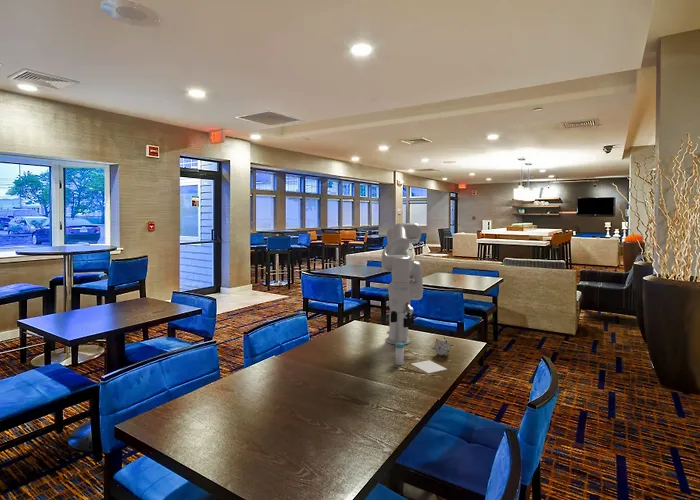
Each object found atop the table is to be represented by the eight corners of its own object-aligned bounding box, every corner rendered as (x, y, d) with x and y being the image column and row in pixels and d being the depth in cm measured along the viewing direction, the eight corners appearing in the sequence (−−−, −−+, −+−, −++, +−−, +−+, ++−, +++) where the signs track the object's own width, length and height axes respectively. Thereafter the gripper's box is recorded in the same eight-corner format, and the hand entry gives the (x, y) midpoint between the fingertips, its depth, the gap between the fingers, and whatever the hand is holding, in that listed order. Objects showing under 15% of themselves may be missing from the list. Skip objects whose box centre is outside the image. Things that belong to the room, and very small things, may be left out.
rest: (399, 356, 191) (399, 355, 191) (410, 354, 194) (411, 353, 194) (407, 360, 185) (407, 359, 185) (419, 358, 188) (419, 357, 188)
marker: (393, 363, 182) (393, 343, 181) (400, 361, 184) (400, 342, 183) (398, 365, 179) (398, 345, 178) (405, 364, 180) (405, 344, 180)
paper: (410, 364, 180) (410, 363, 180) (429, 360, 185) (429, 360, 185) (428, 373, 170) (428, 373, 170) (447, 369, 174) (447, 368, 174)
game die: (445, 364, 191) (455, 351, 185) (428, 357, 191) (438, 344, 185) (446, 349, 199) (455, 336, 193) (429, 343, 198) (438, 330, 193)
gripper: (382, 283, 184) (382, 321, 185) (405, 289, 169) (404, 330, 170) (396, 282, 188) (396, 319, 189) (419, 287, 172) (419, 328, 174)
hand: (400, 324), depth 179 cm, fingers open, 9 cm apart
